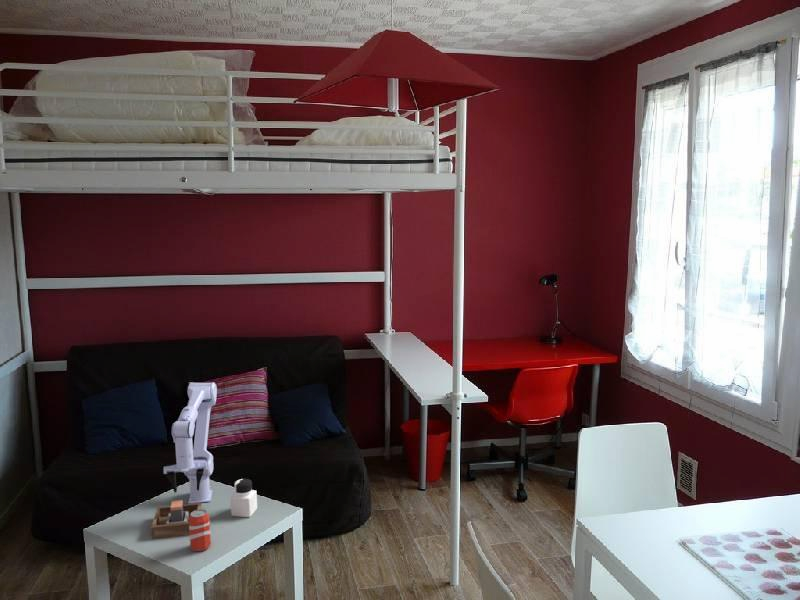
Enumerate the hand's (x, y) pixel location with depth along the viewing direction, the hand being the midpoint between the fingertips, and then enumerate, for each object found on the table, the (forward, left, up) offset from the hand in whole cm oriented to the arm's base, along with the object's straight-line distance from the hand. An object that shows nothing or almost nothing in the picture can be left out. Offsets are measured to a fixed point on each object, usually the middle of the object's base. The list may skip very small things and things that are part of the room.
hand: (186, 490), depth 236 cm
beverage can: (+23, +6, -10) cm, 26 cm away
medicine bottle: (+1, +19, -10) cm, 22 cm away
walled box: (+6, -3, -10) cm, 12 cm away
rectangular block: (+6, -3, -9) cm, 11 cm away
